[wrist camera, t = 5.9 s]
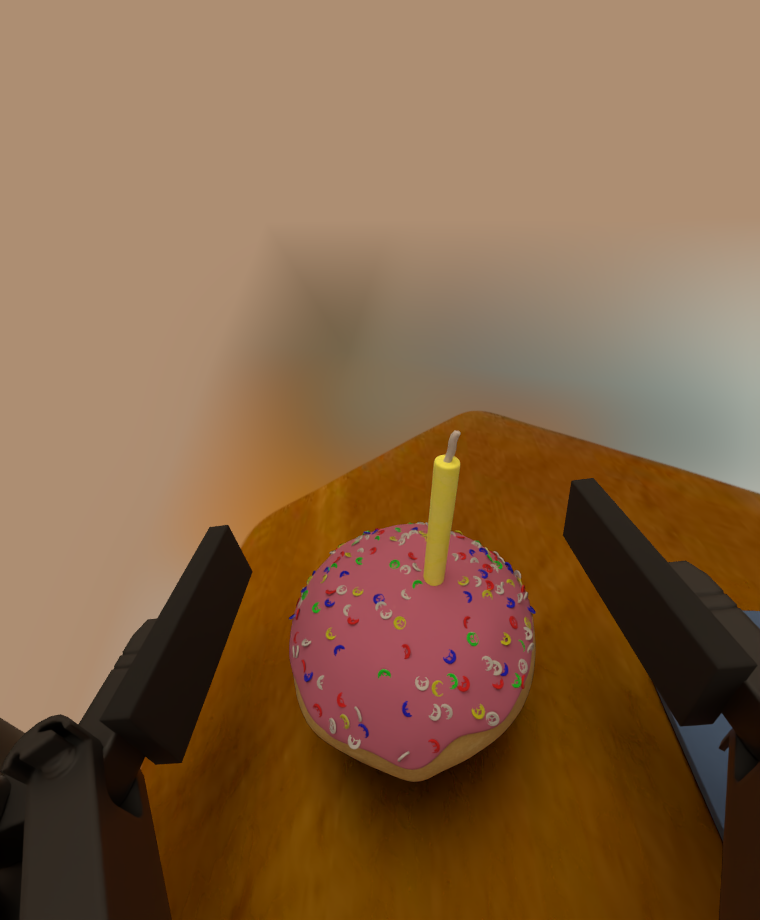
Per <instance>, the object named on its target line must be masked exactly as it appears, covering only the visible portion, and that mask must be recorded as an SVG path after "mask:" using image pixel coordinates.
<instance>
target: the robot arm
mask: <svg viewBox="0 0 760 920" xmlns="http://www.w3.org/2000/svg"><path fill="white" fill-rule="evenodd" d="M563 536H564V538H565V539H566V541H567V543H568V544H569V546H570V548H571V549H572V551H573V553H574V554H575V556H576V557H577V559H578V561H579V562H580V564H581V566H582V567H583V569H584V570H585V572H586V574H587V575H588V577H589V579H590V580H591V582H592V584H593V585H594V587H595V588H596V590H597V592H598V593H599V595H600V597H601V598H602V600H603V602H604V603H605V605H606V606H607V608H608V610H609V611H610V613H611V615H612V616H613V618H614V619H615V621H616V623H617V624H618V626H619V628H620V629H621V631H622V633H623V634H624V636H625V637H626V639H627V641H628V642H629V644H630V646H631V647H632V649H633V650H634V652H635V654H636V655H637V657H638V659H639V660H640V662H641V664H642V665H643V667H644V668H645V670H646V672H647V673H648V675H649V677H650V678H651V680H652V681H653V683H654V685H655V686H656V688H657V690H658V691H659V693H660V695H661V696H662V698H663V699H664V701H665V703H666V704H667V706H668V708H669V709H670V711H671V712H672V714H673V716H674V717H675V719H676V721H677V722H678V724H679V726H680V727H682V726H696V725H709V724H714V722H715V721H716V720H717V718H718V717H719V716H720V714H721V713H722V714H723V716H724V717H725V718H726V720H727V721H728V723H729V724H730V725H731V727H732V729H731V730H730V731H729V732H728V734H727V735H726V736H725V737H724V738H723V740H722V741H721V743H720V746H719V749H720V750H722V751H724V752H725V751H726V749H727V748H728V747H729V753H728V771H727V788H726V805H725V823H724V840H723V857H722V875H721V892H720V910H719V920H760V628H759V627H758V626H757V625H756V624H755V623H754V622H753V621H752V620H751V619H750V618H749V617H748V616H747V615H746V614H745V613H744V612H743V611H742V610H741V609H740V608H737V605H736V604H735V603H734V601H733V600H732V599H731V598H730V597H729V596H728V595H727V594H724V593H723V590H722V589H721V588H720V587H719V586H718V585H717V584H716V583H715V582H714V581H713V580H712V579H711V578H710V577H709V576H708V575H707V574H706V573H704V572H703V571H701V570H700V569H698V568H697V567H695V566H693V565H692V564H690V563H689V562H687V561H678V562H669V563H668V562H667V561H666V560H665V559H664V558H663V557H662V555H661V554H660V553H659V552H658V551H657V550H656V549H655V548H654V546H653V545H652V544H651V543H650V542H649V541H648V540H647V538H646V537H645V536H644V535H643V534H642V533H641V532H640V530H639V529H638V528H637V527H636V526H635V525H634V524H633V523H632V521H631V520H630V519H629V518H628V517H627V516H626V515H625V513H624V512H623V511H622V510H621V509H620V508H619V507H618V505H617V504H616V503H615V502H614V501H613V500H612V499H611V498H610V496H609V495H608V494H607V493H606V492H605V491H604V490H603V488H602V487H601V486H600V485H599V484H598V483H597V482H596V480H595V479H594V478H589V479H582V480H574V481H571V487H570V494H569V500H568V507H567V513H566V519H565V526H564V532H563ZM251 574H252V570H251V568H250V566H249V564H248V562H247V560H246V558H245V556H244V554H243V553H242V551H241V549H240V547H239V545H238V543H237V541H236V539H235V537H234V535H233V533H232V531H231V530H230V528H229V526H228V525H223V526H215V527H209V529H208V531H207V533H206V534H205V536H204V538H203V540H202V541H201V543H200V545H199V547H198V548H197V550H196V552H195V554H194V555H193V557H192V559H191V561H190V562H189V564H188V566H187V568H186V569H185V571H184V573H183V575H182V576H181V578H180V580H179V582H178V583H177V585H176V587H175V589H174V590H173V592H172V594H171V596H170V597H169V599H168V601H167V603H166V605H165V606H164V608H163V610H162V611H161V613H160V615H159V617H158V618H157V619H149V620H147V621H146V622H145V623H144V624H143V625H142V626H141V627H140V628H139V629H138V630H137V631H136V632H135V634H134V635H133V636H132V638H131V639H130V641H129V643H128V644H127V646H126V647H125V649H124V651H123V655H121V656H120V657H119V659H118V661H117V662H116V664H115V666H114V669H113V670H111V672H110V674H109V675H108V677H107V679H106V680H105V682H104V683H103V685H102V687H101V688H100V690H99V692H98V693H97V695H96V697H95V698H94V700H93V702H92V703H91V705H90V706H89V708H88V710H87V711H86V713H85V715H84V716H83V718H82V720H81V721H80V723H79V724H76V723H75V722H74V721H72V720H71V719H70V718H68V717H66V716H63V715H56V716H51V717H49V718H47V719H45V720H43V721H41V722H39V723H38V724H36V725H35V726H34V727H32V728H31V729H30V730H29V731H28V732H26V733H25V734H24V735H23V736H22V737H21V738H20V739H19V741H18V742H17V743H16V744H15V745H14V746H13V748H12V749H11V751H10V752H9V754H8V755H7V757H6V759H5V761H4V764H3V767H2V770H1V772H2V773H4V774H5V775H3V776H2V775H0V920H172V919H171V914H170V908H169V903H168V898H167V893H166V888H165V883H164V877H163V872H162V867H161V862H160V857H159V852H158V846H157V841H156V836H155V831H154V826H153V821H152V815H151V810H150V805H149V800H148V795H147V790H146V784H145V779H144V775H143V774H142V772H141V770H140V767H141V765H142V762H143V760H144V758H145V757H147V758H148V759H149V760H151V761H152V762H153V763H154V764H156V765H157V764H171V763H182V760H183V758H184V755H185V752H186V749H187V747H188V744H189V741H190V739H191V736H192V733H193V731H194V728H195V725H196V723H197V720H198V717H199V714H200V712H201V709H202V706H203V704H204V701H205V698H206V696H207V693H208V690H209V687H210V685H211V682H212V679H213V677H214V674H215V671H216V669H217V666H218V663H219V660H220V658H221V655H222V652H223V650H224V647H225V644H226V642H227V639H228V636H229V633H230V631H231V628H232V625H233V623H234V620H235V617H236V615H237V612H238V609H239V606H240V604H241V601H242V598H243V596H244V593H245V590H246V588H247V585H248V582H249V580H250V577H251Z"/></svg>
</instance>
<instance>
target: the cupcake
mask: <svg viewBox="0 0 760 920" xmlns="http://www.w3.org/2000/svg"><path fill="white" fill-rule="evenodd" d="M460 434H461V433H460V432H459V431H454V432H453V433H452V434H451V436H450V438H449V443H448V450H447V453H446V455H441V456H438V457H437V458H436V459H435V461H434V469H433V480H432V490H431V501H430V512H429V522H428V523H425V524H426V525H425V524H424V523H422V522H418V523H416V524H413V523H408V524H404V525H395V526H391V527H387V528H383V529H378V528H376V529H375V531H373V532H370V531H366V532H364V533H363V535H362V536H359V537H357V538H355V539H353V540H351V541H349V542H347V543H343V544H340V545H339V546H338V548H337V549H336V550H335V551H331V552H330V554H332V555H331V556H330V557H329V558H328V559H327V560H326V561H325V562H324V563H323V564H322V565H321V566H320V567H319V569H318V570H317V571H313V574H312V576H310V577H309V578H308V580H307V586H306V587H305V588H303V589H302V591H301V598H299V599H298V602H297V605H296V611H295V614H294V615H292V616H291V617H289V619H292V618H293V622H292V628H291V635H290V644H289V655H290V662H291V667H292V671H293V675H294V682H295V689H296V694H297V698H298V702H299V705H300V708H301V711H302V713H303V715H304V718H305V719H306V721H307V723H308V724H309V726H310V727H311V729H312V730H313V731H314V732H315V733H316V734H317V735H318V736H319V737H320V738H322V739H323V740H324V741H325V742H327V743H328V744H330V745H331V746H333V747H335V748H336V749H338V750H340V751H341V752H343V753H345V754H347V755H349V756H351V757H352V758H354V759H356V760H358V761H360V762H362V763H364V764H366V765H369V766H371V767H373V768H375V769H378V770H380V771H383V772H385V773H388V774H390V775H392V776H395V777H397V778H400V779H403V780H406V781H411V782H417V781H423V780H426V779H428V778H431V777H432V776H434V775H436V774H438V773H440V772H442V771H444V770H446V769H448V768H450V767H453V766H455V765H457V764H459V763H461V762H463V761H465V760H467V759H469V758H470V757H472V756H473V755H475V754H476V753H478V752H479V751H481V750H482V749H484V748H485V747H487V746H488V745H489V744H491V743H492V742H493V741H495V740H496V739H497V738H498V737H499V736H501V735H502V734H503V733H504V732H505V730H506V729H507V728H508V727H509V726H510V725H511V723H512V722H513V721H514V719H515V718H516V717H517V715H518V714H519V712H520V710H521V709H522V707H523V705H524V703H525V700H526V698H527V696H528V693H529V690H530V686H531V683H532V678H533V672H534V665H535V633H534V623H533V616H532V613H533V614H535V610H534V609H533V608H532V607H531V606H530V604H529V600H528V592H525V586H524V585H522V582H521V580H520V579H521V574H520V572H519V571H517V570H516V571H515V572H514V574H513V570H512V568H511V565H510V564H509V563H508V562H504V560H503V559H502V558H501V557H499V555H498V553H497V552H495V551H494V552H492V551H488V549H487V547H485V548H484V547H483V546H482V545H481V543H480V542H479V541H473V540H471V539H469V538H467V537H465V536H463V534H462V532H461V531H458V530H457V531H455V532H452V531H451V527H452V519H453V512H454V505H455V498H456V491H457V484H458V477H459V470H460V461H459V460H458V459H457V458H456V457H454V454H455V451H456V446H457V440H458V438H459V436H460ZM457 532H458V533H460V534H458V533H457ZM502 561H503V562H502ZM505 565H507V566H509V567H508V568H507V566H505ZM517 573H518V575H519V576H518V575H517V576H516V574H517ZM517 577H519V578H517ZM310 578H311V579H310ZM531 609H532V610H531Z"/></svg>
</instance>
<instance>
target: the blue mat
mask: <svg viewBox="0 0 760 920" xmlns="http://www.w3.org/2000/svg"><path fill="white" fill-rule="evenodd" d="M743 612H744V613H745V614H746V615H747V616H748V617H749V618H750V619H751V620H752V621H753V622H754V623H755V624H756V625H757V626H758V627H759V628H760V611H743ZM655 687H656V686H655ZM656 690H657V688H656ZM657 692H658V694H659V696H660V699H661V701H662V703H663V706H664V708H665V710H666V712H667V715H668V717H669V719H670V722H671V724H672V726H673V728H674V731H675V733H676V735H677V738H678V740H679V742H680V744H681V747H682V749H683V751H684V754H685V756H686V758H687V760H688V763H689V765H690V767H691V770H692V772H693V774H694V776H695V779H696V781H697V783H698V786H699V788H700V790H701V792H702V795H703V797H704V799H705V802H706V804H707V806H708V808H709V811H710V813H711V815H712V818H713V820H714V822H715V824H716V827H717V829H718V831H719V834H720V836H721V838H722V840H724V823H725V805H726V788H727V771H728V753H729V747H728V748H727V749H726V751H725V752H724V751H722V750H720V749H719V746H720V743H721V741H722V740H723V738H724V737H725V736H726V735H727V734H728V732H729V731H730V730H731V729H732V727H731V725H730V724H729V723H728V721H727V720H726V718H725V717H724V716H723V714H722V713H721V714H720V716H719V717H718V718H717V720H716V721H715V722H714V724H709V725H696V726H682V727H680V726H679V724H678V722H677V721H676V719H675V717H674V716H673V714H672V712H671V711H670V709H669V708H668V706H667V704H666V703H665V701H664V699H663V698H662V696H661V695H660V693H659V691H658V690H657Z"/></svg>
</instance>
